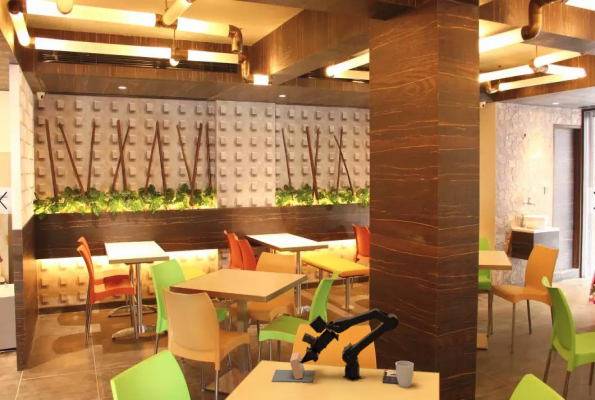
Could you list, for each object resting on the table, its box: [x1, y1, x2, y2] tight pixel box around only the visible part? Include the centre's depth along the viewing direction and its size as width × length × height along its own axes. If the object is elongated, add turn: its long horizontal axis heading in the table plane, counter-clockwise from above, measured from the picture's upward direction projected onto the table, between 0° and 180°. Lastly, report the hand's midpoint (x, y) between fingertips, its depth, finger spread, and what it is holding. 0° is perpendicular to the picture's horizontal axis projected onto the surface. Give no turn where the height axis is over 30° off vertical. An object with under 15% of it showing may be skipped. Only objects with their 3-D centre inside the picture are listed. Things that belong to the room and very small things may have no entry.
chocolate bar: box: [382, 369, 399, 385], centre depth 258 cm, size 9×1×18 cm
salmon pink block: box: [289, 351, 306, 380], centre depth 260 cm, size 4×12×9 cm, turn 176°
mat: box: [271, 369, 315, 384], centre depth 260 cm, size 19×16×1 cm
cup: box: [395, 360, 414, 388], centre depth 247 cm, size 8×8×10 cm
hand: (301, 362), depth 260 cm, fingers closed, pressing on salmon pink block
